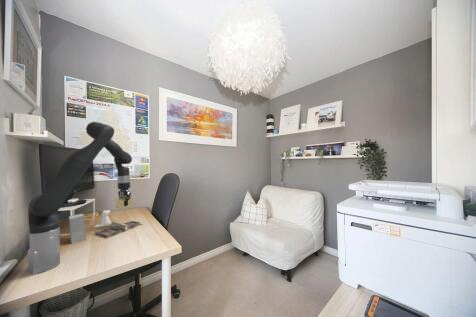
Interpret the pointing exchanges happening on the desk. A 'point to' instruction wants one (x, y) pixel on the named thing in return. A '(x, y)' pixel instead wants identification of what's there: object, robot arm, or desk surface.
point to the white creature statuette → (104, 219)
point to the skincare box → (77, 228)
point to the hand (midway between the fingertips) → (124, 205)
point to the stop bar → (121, 202)
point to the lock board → (117, 229)
